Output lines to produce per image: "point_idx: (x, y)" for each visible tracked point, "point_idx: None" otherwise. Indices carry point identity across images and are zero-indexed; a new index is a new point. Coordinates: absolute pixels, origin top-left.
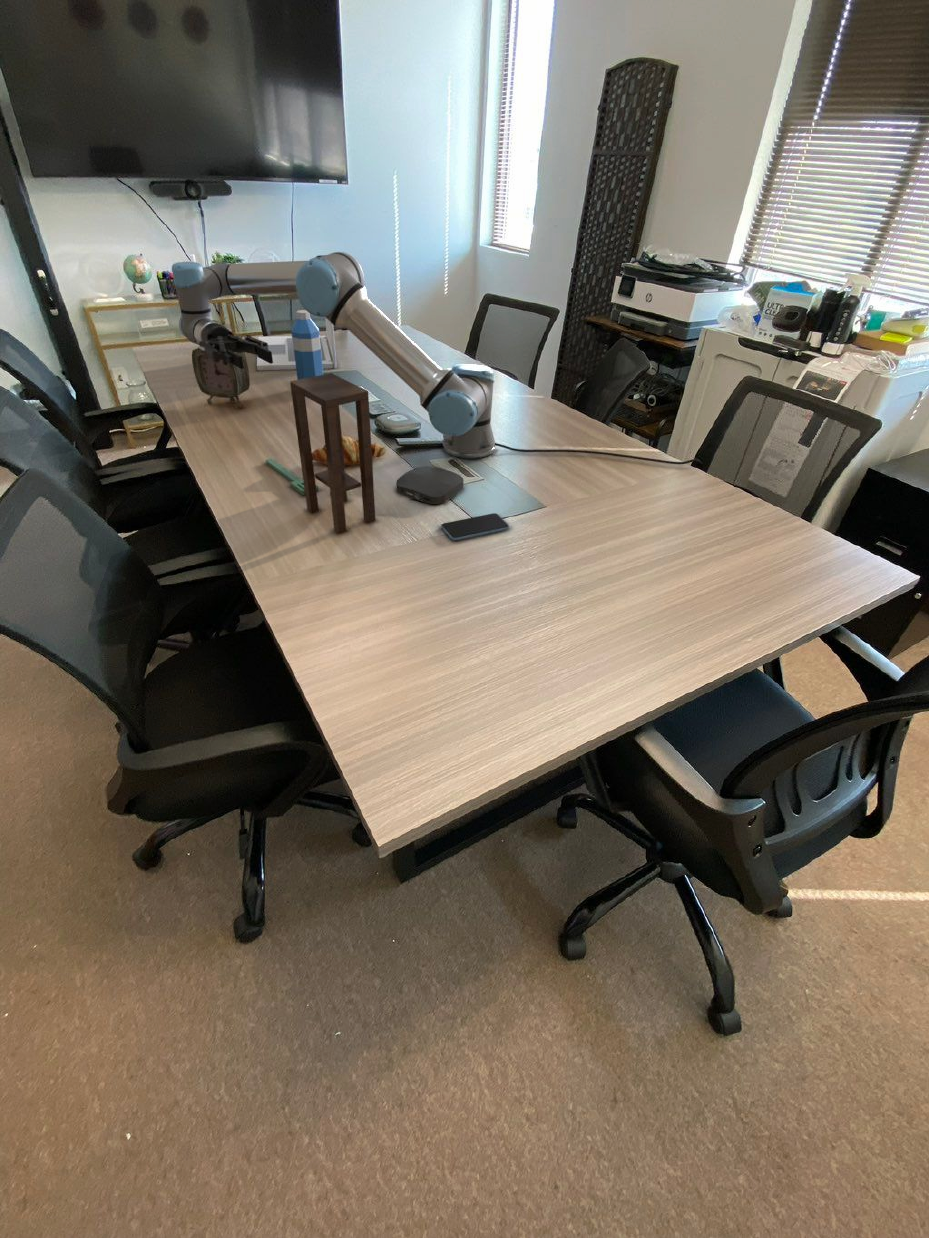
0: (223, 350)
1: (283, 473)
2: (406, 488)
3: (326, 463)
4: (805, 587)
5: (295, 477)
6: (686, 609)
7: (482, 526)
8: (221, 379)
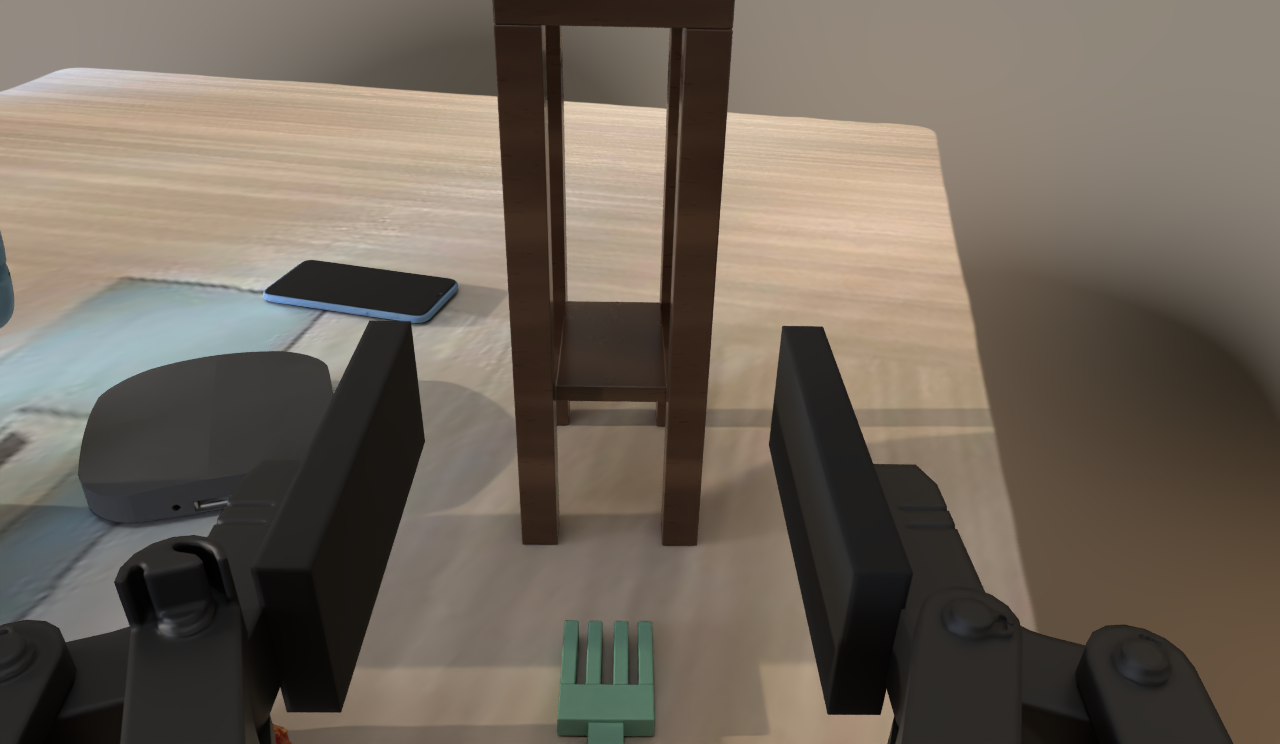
0: (968, 603)
1: None
2: None
3: None
4: (177, 92)
5: None
6: (354, 121)
7: (356, 277)
8: None
